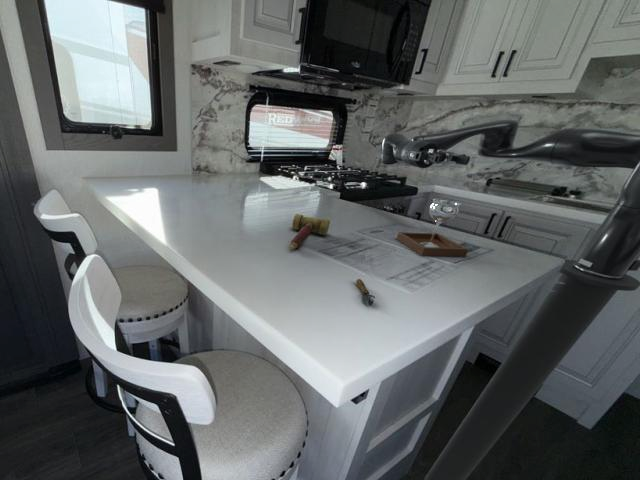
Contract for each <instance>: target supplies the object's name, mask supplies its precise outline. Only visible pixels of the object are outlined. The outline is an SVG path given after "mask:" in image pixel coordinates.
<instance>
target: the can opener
mask: <svg viewBox="0 0 640 480" xmlns="http://www.w3.org/2000/svg"><path fill="white" fill-rule="evenodd" d="M356 285H357V286H358V288H359V289H360V291H361V292H362V294H363V296H361V299H362V301H363V303H364V304H367V305H369V306H370V305H374V302H375V301H374V299H376V296H374V295H372V294H370V292H369V290H368V289H367V287H366V285H365V283H364V281H363V280H362V279H361V278H358V279H356Z"/></svg>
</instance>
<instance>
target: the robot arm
mask: <svg viewBox="0 0 640 480" xmlns="http://www.w3.org/2000/svg"><path fill="white" fill-rule="evenodd" d="M519 125H520V123H519V121H518V120H516V119H510V118H509V119H506V118H505V119H498V120H492V121H491V120H490V121H487V122H483V123H478V124H474V125H468V126H464V127H461V128H456V129H452V130H449V131H444V132H443V131H442V132H437V133H429V134H420V135H416V136H413V137H412V139H411V140H410V139H409V138H408V137H407V136H406V135H404V134H402V133H399V132H392V133H389V134H387V135H386V136H384V138H383V140H382V144H381V145H382V146H381V157H380V161H381V163H382V164H383V165H384V166H393V165H396V164H399V163H402V164H406V165H407V166H410V167H414V168H419V169H428V168H430V167H431V166H433V165H441V164H442V165H450V164H455V165H462V166H468V164H469V162H470V159H471V156H469V155H467V154H465V153H463V154H462V153H456V152H454V151H450V149H451V148H453V147H455V146H456V145H458V144H459V143H461V142H463V141H465V140H468V139H470V138H472V137H475V136H480V138H479V143H478V147H477V155H478V157H481V158H484V159H493V160H494V159H495V160H515V161H516V160H517V161H527V162H536V163H543V164H550V165H555V166H564V167H573V168H575V167H576V168H620V169H621V168H623V169H630V170H631V169H632V171H631V173H630V174H629V176H628V178H627V179H626V181H625V182H624V184H623V185H622V188H621V190H620V196H619V197H618V199H617V201H616V203H615V204H614V206H612V208H611V210H609V212H608V214H607V216H606V217H605V218H604V220H603V221H602V223H601V225H600V226H599V227H598V229H597V230H596V232H595V233H594V235H592V238H591V239H590V240H589V242H588V243H587V245H586V246H585V248H584V249H583V250H582V252H581V253H580V255H579V256H578V258H577V260H576V262H575V263H574V264H573V267H574V268H575V269H577V270H579V271H581V272H584V273H586V274H589V275H593V276H596V277H600V278H605V279H612V280H619V279H621V278H622V277H624V276H625V274H627V273H628V272H629V271H633V272H636V271H637V272H638V270H639V269H640V259H639V258H640V134H634V133H627V132H621V131H615V130H608V129H607V130H606V129H598V128H578V127H577V128H576V127H575V128H574V127H567V128H563V129H559V130H556V131H554V132H552V133H551V132H550V134H547V135H545V136H543V137H541V138H539V139H537V140H535V141H533V142H530V143H527V144H525V145H522V146H514V143H515V139H516V136H517V133H518V130H519ZM447 154H448V155H447ZM445 160H446V161H445Z"/></svg>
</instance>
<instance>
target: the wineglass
mask: <svg viewBox="0 0 640 480" xmlns="http://www.w3.org/2000/svg"><path fill="white" fill-rule="evenodd" d="M461 205H462V203H461V202H460V201H457V200H452V199H446V198H433V199H432V203H431V204H430V206H429V208H428V214H429V215H430V217H431V218H432V220H434V222H435V226H434V229H433V232H432V233H433V235H432V237H431V240H430V242H420V244H421V245H423V246H425V247H439V246H438V245H436V244H434V243H432V240H433V238H434V235H435V233H437V231H438V228H439V227H440V225H441V224H442V223H444V222H449V221H450V220H452V219H454V218H456V216H457V215H458V214H459V211H460V208H459V207H461Z"/></svg>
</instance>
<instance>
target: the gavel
mask: <svg viewBox="0 0 640 480" xmlns="http://www.w3.org/2000/svg"><path fill="white" fill-rule="evenodd" d="M330 223H331V221H330V219H328V218H322V219H320V218H315V217H311V216H304V215H303V214H301V213H300V214H299V213H296V214H295V215H294V216H293V219H292V223H291V224H292V225H291V227H292V230H295V231H298V233H296V234H295V236H294V237H293V238H292V239H291V241H290V249H291V250H295V249H298V248H300V247H301V246H302V244H303V243H304V242H305V240H306V239H307V238H308V236H309V235H310V234H311V233H318V235H319V236H326V235H328V232H329V228H330Z"/></svg>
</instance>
